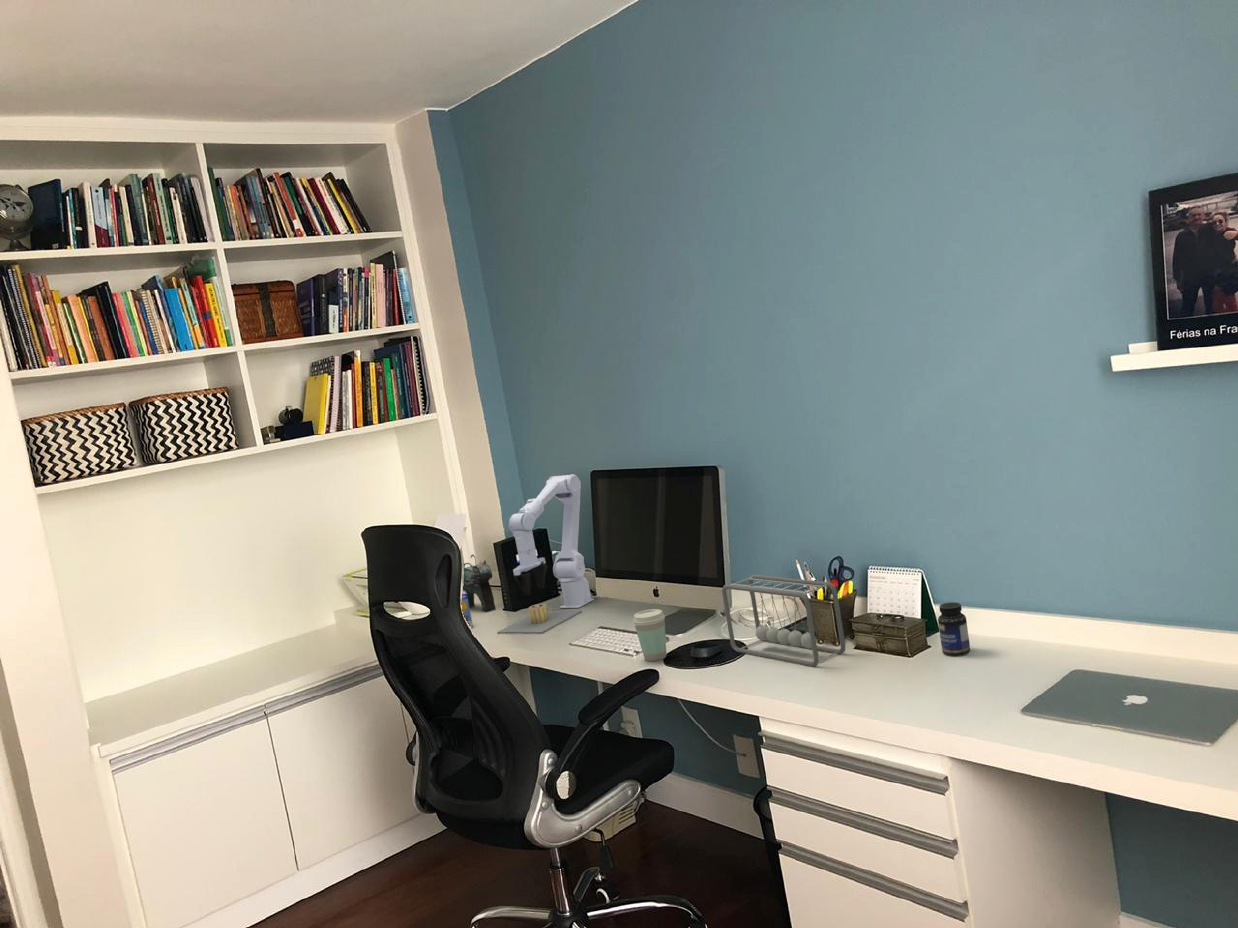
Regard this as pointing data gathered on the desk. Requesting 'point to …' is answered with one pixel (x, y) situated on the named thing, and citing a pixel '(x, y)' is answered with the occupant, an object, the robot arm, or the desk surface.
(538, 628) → the grey square plate
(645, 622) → the coffee cup
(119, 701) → the desk surface
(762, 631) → the newton's cradle
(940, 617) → the pill bottle
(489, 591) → the toy ray gun
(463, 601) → the ink cartridge box
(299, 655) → the desk surface
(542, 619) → the wooden link ring
